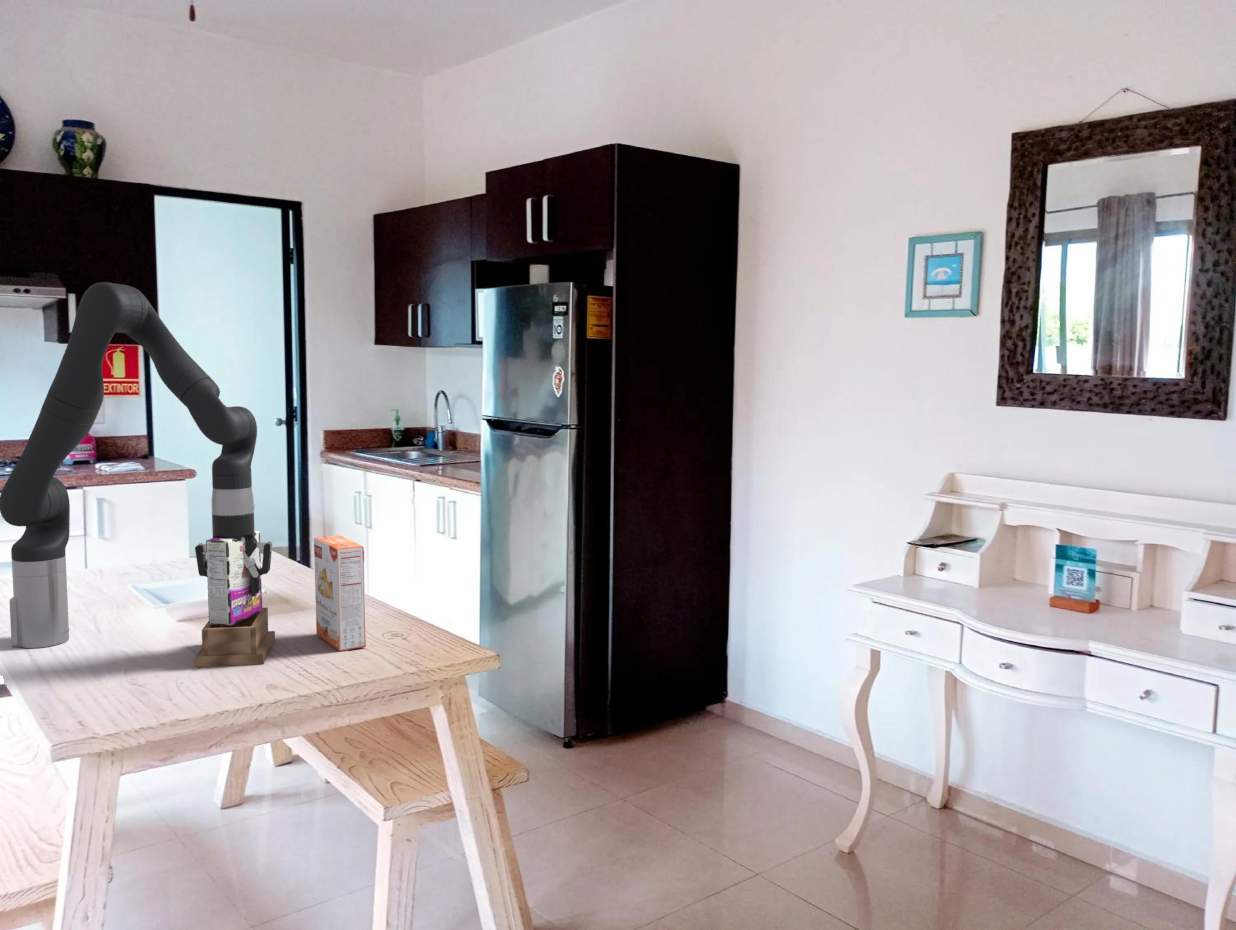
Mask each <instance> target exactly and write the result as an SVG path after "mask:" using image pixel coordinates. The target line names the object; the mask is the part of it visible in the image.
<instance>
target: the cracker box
mask: <svg viewBox="0 0 1236 930" xmlns="http://www.w3.org/2000/svg"><path fill="white" fill-rule="evenodd" d="M313 549H314V550H313V552H314V553H313V554H314V590H315V595H314V597H315V621H316V622H315V623H316V625H315V626H316V629H315V630H316V631H315V632H316V636H318V637H320V638H321V639H323V641H325V642H326V643H327V644H328V645H330V646H331V647H333V648H334V649H335V650H337V651H338V652H343V651H344V652H345V651H349V650H350V651H351V650H355V649H362V648H366V647H367V645H366V644H367V637H366V634H367V633H366V598H365V597H366V592H365V589H366V587H365V586H366V584H365V546H364V545H361V544H359V543H357V542H355V541H353V540H351V539H348V538H346V537H344V536H341V535H340V534H339V535H329V536H326V535H325V536H318V537H314V538H313Z"/></svg>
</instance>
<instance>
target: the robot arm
mask: <svg viewBox="0 0 1236 930" xmlns="http://www.w3.org/2000/svg"><path fill="white" fill-rule="evenodd" d="M77 307H78V308H77V311H76V315H75V318H74V321H73V326H72V328H71V329H72V330H71V332H70V336H69V338H68V343H67V345H66V348H65V350H64V353H63V355H62V358H61V361H60V363H59V365H58V368H57V371H56V373H55V375H54V379H53V381H52V382H51V385H50V386H49V389H48V391H47V394H46V396H45V399H44V401H43V403H42V406H41V408H40V411H39V414H38V416H37V417H38V418H37V420H36V422H35V424H34V426H33V428H32V430H31V433H30V435H29V437H28V439H27V443H26V444H25V447H24V449H23V451H22V453H21V455H20V457H19V458H18V461H17V462H16V463H15V466H14V468H13V469H12V471H11V473H10V475H9V476H8V478H7V479H6V481H5V484H4V486H3V487H2V488H1V492H0V515H1V517H2V519H4V521H5V522H6V523H8V525H11V526H14V527H25V530H24V531H23V534H22V536H20V538H19V539H18V540H17V541H16V542H15V543H13V544H12V547H11V550H10V552H11V554H10V556H11V572H12V592H13V593H12V594H13V597H11V598H10V599H9V619H10V637H11V640H10V642H11V647H12V648H13V647H16V648H17V647H18V648H25V649H36V648H37V649H38V648H46V647H52V646H58V645H60V644H63V643H66V642H68V641H69V640H70V623H69V602H68V601H69V600H68V582H67V581H68V580H67V579H68V578H67V575H68V574H67V563H66V561H67V559H66V558H67V556H66V548H67V545H68V542H69V539H70V528H71V527H70V525H71V524H70V519H71V517H70V513H71V512H70V511H71V508H70V506H71V505H70V497H69V493H68V490H67V487H66V486H65V484H64V483H63V482H62V481H61V480H60V479H59V478H57V477H54V476H55V474H56V472H57V471H58V469H59V467H60V465H61V464H62V463H63V462H64V461H65V459H66V458H67V457H68V456H69V455H70V454H71V453H72V452H73V451H74V450H75V449H76V447H78V445H79V444H80V443H81V442H82V441H83V440H84V439H85V438H86V436H87V435H88V434H89V432H90V431H91V429H92V427H93V426H94V424H95V422H96V420H97V416H98V414H99V412H100V409H101V408H102V407H101V406H102V404H103V402H104V395H105V389H104V388H105V387H104V386H105V385H104V376H103V362H104V357H105V355H106V353H107V350H108V347H109V345H110V343H111V341H112V338H113V337H114V335H115V334H116V333H120V334H121V333H122V334H125V335H127V336H128V337H129V338H131V339H133V340H134V341H135V342H136V343H138V345H140V346H141V347H142V348H143V349H144V350H145V351H146V353H147V354H148V357H150V359H151V361H152V362H153V365H154V367H155V369H156V372H157V374H158V376H159V378H160V379H161V381H162V382H163V384H164V385H165V387H166V388H167V389H168V390H169V391H170V392H171V393H172V394H173V395H174V396H175V397H176V398H177V399H178V400H179V401H180V402H181V404H183V405H184V406H185V407H186V408H187V410H188V412H189V414H190V415H191V417H192V419H193V422H195V425H196V426H197V427H198V429H199V431H200V432H201V433H202V434H203V435H204V436H205V437H206V438H207V439H208V440H209V441H211V442H212V443H214V444H217V445H221V453H220V455H219V456H218V457H216V458H215V459H214V460H213V462H212V464H211V478H212V479H211V480H212V483H211V484H212V485H211V486H212V491H211V524H212V525H211V527H212V529H211V530H212V531H211V532H212V538H215V537H218V538H240V537H244V538H245V551H244V550H243V555H244V557H245V558H244V564H245V566H246V567H247V568H248V570H249V571H250V573H251V575H252V578H251V596H252V597H255V596H256V595H257V593H259V591H260V576H261V577H262V576H263V575H267V574H268V573H269V572H270V570H271V562H272V550H273V543H272V541H267V542H261V541H260V542H257V540H256V539H255V532H254V531H255V501H254V500H255V499H254V494H253V487H252V486H253V484H252V482H253V481H252V479H253V478H252V462H253V459H254V458H253V457H254V454H255V449H256V448H255V447H256V443H257V438H258V437H257V436H258V426H257V421H256V417H255V416H254V414H253V413H252V412H251V410H249V409H248V408H247V407H244V406H240V405H239V406H226V405H225V404H224V402H222V400H221V399H220V398H219V397H220V395H221V394H220V393H221V390H220V388H219V386H218V384H217V383H216V382H215V380H214V379H213V378H211V376H210V375H209V374H207V372H206V371H204V369H203V368H202V367H201V366H200V365H199V364H198V363H197V362H196V361H195V360H194V359H193V358H192V357H191V356H190V355H189V353H188V352H187V351H186V350H185V348H183V346H182V345H181V344H180V343H179V341H177V339H176V338H175V337H174V335H173V334H172V333H171V331H170V330H169V329H168V327H167V325H166V324H165V323H164V322H163V320H162V319H161V317H160V315H158V312H157V311H156V310H155V308H154V307H153V306H152V304H151V302H150V301H149V300H148V298H147V297H146V296H145V294H143V293H142V292H141V290H139V289H137V288H136V287H134V286H130V285H127V284H120V283H112V282H105V281H104V282H103V281H102V282H96V283H94V284H92V285H90V286H89V287H88V288H87V289H86V290H85V292H84V293H83V294H82V297H81V299H80V302H79V304H78V306H77ZM256 548H259V550H260V555H262V561H261V568H258V566H257V564H256V562H255V560H254V559H252V561H251V560H250V559H249V557H250V556H251V554H252V553H253V552H254V550H255V549H256ZM194 551H195V559H196V563H197V564H196V565H197V572H198V575H199V576H200V577H205V578H208V577H207V555H206V543H202V542H199V543H198V544H197V545H196V546H195V547H194ZM247 561H248V562H247Z"/></svg>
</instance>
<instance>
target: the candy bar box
mask: <svg viewBox="0 0 1236 930" xmlns="http://www.w3.org/2000/svg"><path fill="white" fill-rule="evenodd" d="M254 532H255V539H256V540H257V542H261V531H258V530H254ZM205 544H206V560H207V577H206V578H207V598H208V601H207V603H208V605H207V606H208V607H207V608H208V621H209V624H213V625H229V626H231V625H233V624H236V623H238V622H240V621H242V620H244V619H246V618H249V617H251V616H253V615H255V614H257V613H259V612H261V611H262V608H263V596H262V595H263V594H262V593H263V592H262V575H261V576H260V591H259V593H257V595H256V596H255V597H252V596H251V578H252V575H251V573H250V571H249V570H248V568H247V567H246V566H245V564H244V558H245V557H244V555H243V550H244V551H245V538H244V537H240V538H218V537H215V538H213V537H212V538H209V539H206V540H205ZM261 555H262V554H261V553H260V550H259V548H256V549H255V550H254V552H253V553H252V554H251V556H250V557H249V559H250V560H251V561H252V559H254V560H255V562H256V564H257V566H258V568H262V561H261V560H262V558H261V557H262V556H261ZM247 562H248V561H247Z"/></svg>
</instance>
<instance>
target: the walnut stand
mask: <svg viewBox="0 0 1236 930" xmlns="http://www.w3.org/2000/svg"><path fill="white" fill-rule="evenodd" d="M275 642H276V630H269V608H268V607H262V611H261V612H259V613H257V614H255V615H253V616H251V617H249V618H246V619H244V620H242V621H240V622H238V623H236V624H233V625H231V626H229V625H213V624H209V620H208V621H207V623H206V624H205V625H204V626H203V627H202V629H201V645H202V646H201V648H200V650H199V651H198V652H197V654H196V655H195V657H194V663H195V665H194V666H195V667H194V668H210V667H230V666H249V665H250V666H251V665H264V664H265V663H266V660H267V658H268V656H269V654H270V652H271V650H272V648H273V646H274V644H275Z"/></svg>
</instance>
